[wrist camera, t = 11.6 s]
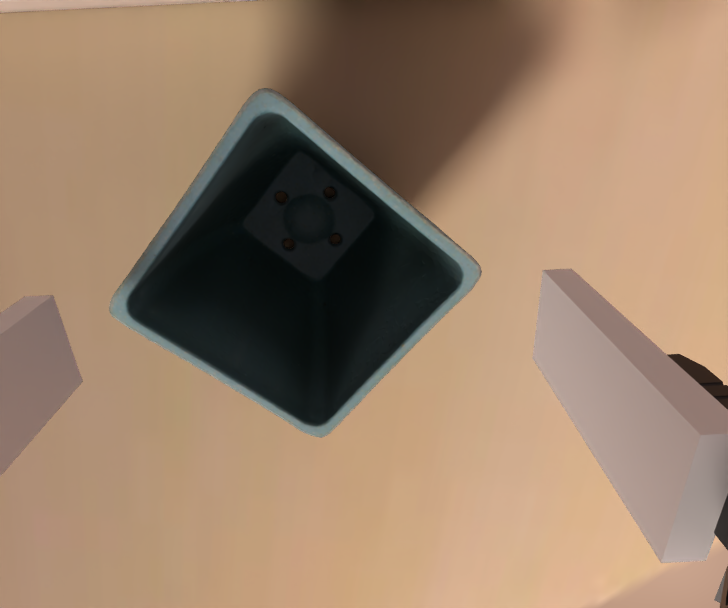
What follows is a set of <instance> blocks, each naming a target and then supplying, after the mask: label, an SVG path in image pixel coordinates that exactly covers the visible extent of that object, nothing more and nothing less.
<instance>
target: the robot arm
mask: <svg viewBox="0 0 728 608" xmlns="http://www.w3.org/2000/svg"><path fill="white" fill-rule="evenodd" d="M533 360H534V361H535V363H536V365H537V366H538V368H539V369H540V371H541V372H542V374H543V376H544V377H545V379H546V380H547V382H548V384H549V385H550V387H551V388H552V390H553V392H554V393H555V395H556V396H557V398H558V400H559V401H560V403H561V404H562V406H563V407H564V409H565V411H566V412H567V414H568V415H569V417H570V419H571V420H572V422H573V423H574V425H575V427H576V428H577V430H578V431H579V433H580V435H581V436H582V438H583V439H584V441H585V443H586V444H587V446H588V447H589V449H590V450H591V452H592V454H593V455H594V457H595V458H596V460H597V462H598V463H599V465H600V466H601V468H602V470H603V471H604V473H605V474H606V476H607V478H608V479H609V481H610V482H611V484H612V485H613V487H614V489H615V490H616V492H617V493H618V495H619V497H620V498H621V500H622V501H623V503H624V505H625V506H626V508H627V509H628V511H629V513H630V514H631V516H632V517H633V519H634V520H635V522H636V524H637V525H638V527H639V528H640V530H641V532H642V533H643V535H644V536H645V538H646V540H647V541H648V543H649V544H650V546H651V548H652V549H653V551H654V552H655V554H656V556H657V557H658V559H659V560H660V562H661V563H671V562H690V561H706V560H707V557H708V554H709V551H710V549H711V546H712V543H713V540H714V538H715V535H716V536H717V537H718V539H719V540H720V541H721V542H722V544H723V545H724V546H725V547H726V549H727V550H728V386H727V385H723V382H722V381H721V380H720V379H719V378H718V377H716V376H715V375H714V374H713V373H712V372H710V371H709V370H708V369H707V368H706V367H704V366H702V365H700V364H698V363H696V362H694V361H692V360H690V359H688V358H686V357H684V356H682V355H680V354H671V355H666V354H665V353H664V352H663V351H662V350H661V349H660V348H659V347H658V346H657V345H655V344H654V343H653V342H652V341H651V340H650V339H649V338H648V337H647V336H645V335H644V334H643V333H642V332H641V331H640V330H639V329H638V328H637V327H635V326H634V325H633V324H632V323H631V322H630V321H629V320H628V319H627V318H626V317H624V316H623V315H622V314H621V313H620V312H619V311H618V310H617V309H616V308H614V307H613V306H612V305H611V304H610V303H609V302H608V301H607V300H606V299H604V298H603V297H602V296H601V295H600V294H599V293H598V292H597V291H596V290H594V289H593V288H592V287H591V286H590V285H589V284H588V283H587V282H586V281H585V280H583V279H582V278H581V277H580V276H579V275H578V274H577V273H576V272H575V271H573V270H572V269H555V270H543V273H542V282H541V290H540V299H539V308H538V316H537V325H536V333H535V342H534V351H533ZM82 382H83V381H82V378H81V375H80V372H79V369H78V366H77V363H76V360H75V358H74V355H73V352H72V349H71V346H70V343H69V340H68V337H67V334H66V331H65V329H64V326H63V323H62V320H61V317H60V314H59V311H58V308H57V305H56V302H55V300H54V297H53V295H47V296H27V297H23V298H22V299H20V300H19V301H17V302H16V303H14V304H13V305H12V306H10V307H9V308H7V309H6V310H4V311H3V312H1V313H0V476H1V475H2V474H3V473H4V472H5V471H6V469H7V468H8V467H9V466H10V465H11V464H12V463H13V461H14V460H15V459H16V458H17V457H18V456H19V454H20V453H21V452H22V451H23V450H24V449H25V448H26V446H27V445H28V444H29V443H30V442H31V441H32V439H33V438H34V437H35V436H36V435H37V434H38V432H39V431H40V430H41V429H42V428H43V427H44V426H45V424H46V423H47V422H48V421H49V420H50V419H51V417H52V416H53V415H54V414H55V413H56V412H57V411H58V409H59V408H60V407H61V406H62V405H63V404H64V402H65V401H66V400H67V399H68V398H69V397H70V395H71V394H72V393H73V392H74V391H75V390H76V389H77V387H78V386H79V385H80V384H81V383H82ZM715 601H717V602H719V603H720V608H728V567H727V569H726V572H725V574H724V577H723V579H722V582H721V584H720V587H719V589H718V592H717V594H716V597H715Z"/></svg>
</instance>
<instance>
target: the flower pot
mask: <svg viewBox="0 0 728 608" xmlns="http://www.w3.org/2000/svg"><path fill="white" fill-rule="evenodd" d="M327 187H331V188H333V189H334V191H335V195H334V196H333V197H332V198H327V197H326V196H325V194H324V190H325V189H326V188H327ZM278 192H284V193H285V194H286V196H287V200H286V202H284V203H279V202H278V201H277V200H276V194H277V193H278ZM334 234H337V235H339V236H340V238H341V239H340V242H339V243H338V244H333V243H331V241H330V237H331V236H332V235H334ZM286 239H292V240H293V241H294V246H293V248H291V249H288V248H286V247H285V246H284V244H283V243H284V240H286ZM481 272H482V271H481V267H480V265H479V264H478V263H477V261H476V260H475V259H474V258H473V257H472V256H471V255H469V254H468V253H467V252H466V251H465V250H463V249H462V248H461V247H460V246H459V245H458V244H456V243H455V242H454V241H453V240H452V239H451V238H449V237H448V236H447V235H446V234H445V233H444V232H443V231H442V230H440V229H439V228H438V227H437V226H436V225H435V224H434V223H432V222H431V221H430V220H429V219H428V218H426V217H425V216H424V215H423V214H421V213H420V212H419V211H418V210H417V209H415V208H414V207H413V206H412V205H411V204H409V203H408V202H407V201H406V200H405V199H403V198H402V197H401V196H400V195H399V194H397V193H396V192H395V191H394V190H393V189H392V188H390V187H389V186H388V185H387V184H386V183H385V182H383V181H382V180H381V179H380V178H379V177H378V176H376V175H375V174H374V173H373V172H372V171H370V170H369V169H368V168H367V167H366V166H365V165H363V164H362V163H361V162H360V161H359V160H358V159H356V158H355V157H354V156H353V155H352V154H351V153H349V152H348V151H347V150H346V149H345V148H344V147H342V146H341V145H340V144H339V143H338V142H337V141H336V140H334V139H333V138H332V137H331V136H330V135H329V134H327V133H326V132H325V131H324V130H323V129H322V128H320V127H319V126H318V125H317V124H316V123H315V122H314V121H312V120H311V119H310V118H309V117H308V116H307V115H305V114H304V113H303V112H302V111H301V110H300V109H299V108H297V107H296V106H295V105H294V104H293V103H291V102H290V101H289V100H288V99H286V98H285V97H283V96H282V95H281V94H279V93H278V92H276V91H274V90H272V89H268V88H264V89H259V90H258V91H256V92H255V93H253V94H252V95H251V96H250V97H249V98H248V100H247V101H246V102H245V104H244V105H243V106H242V108H241V109H240V111H239V112H238V114H237V116H236V117H235V119H234V121H233V122H232V123H231V125H230V126H229V128H228V129H227V131H226V133H225V134H224V136H223V137H222V139H221V141H220V142H219V143H218V145H217V146H216V147H215V149H214V151H213V152H212V154H211V155H210V157H209V158H208V160H207V162H206V163H205V164H204V165H203V167H202V169H201V170H200V172H199V173H198V175H197V176H196V178H195V179H194V181H193V183H192V184H191V185H190V186H189V188H188V190H187V191H186V192H185V194H184V196H183V197H182V199H181V200H180V201H179V203H178V204H177V206H176V207H175V209H174V210H173V212H172V213H171V214H170V216H169V217H168V219H167V220H166V222H165V223H164V224H163V225H162V227H161V228H160V230H159V231H158V233H157V234H156V236H155V237H154V238H153V240H152V241H151V242H150V244H149V246H148V247H147V248H146V250H145V251H144V253H143V254H142V256H141V257H140V258H139V260H138V261H137V263H136V264H135V265H134V267H133V268H132V270H131V271H130V273H129V274H128V276H127V277H126V278H125V279H124V281H123V283H122V284H121V285H120V286H119V288H118V289H117V291H116V292H115V293H114V295H113V297H112V299H111V301H110V306H109V311H110V314H111V315H112V317H114V318H115V319H116V320H118V321H119V322H121V323H122V324H124V325H125V326H127V327H128V328H129V329H131V330H133V331H135V332H137V333H139V334H140V335H142V336H144V337H145V338H146V339H148V340H149V341H152V342H154V343H155V344H157V345H159V346H160V347H162V348H163V349H165V350H167V351H169V352H171V353H172V354H175V355H177V356H178V357H180V358H181V359H183V360H185V361H187V362H189V363H191V364H192V365H193V366H195V367H197V368H199V369H200V370H202V371H204V372H206V373H208V374H209V375H210V376H213V377H214V378H215V379H217V380H219V381H221V382H222V383H224V384H225V385H227V386H229V387H231V388H232V389H234V390H235V391H237V392H239V393H240V394H242V395H244V396H246V397H247V398H249V399H251V400H252V401H254V402H256V403H257V404H259V405H261V406H262V407H264V408H265V409H267V410H269V411H270V412H272V413H274V414H275V415H277V416H278V417H280V418H282V419H283V420H285V421H286V422H288V423H289V424H291V425H293V426H294V427H295V428H297V429H298V430H300V431H302V432H304V433H306V434H309V435H311V436H315V437H320V438H322V437H325V436H327V435H328V434H330V433H331V432H332V431H333V430H334V429H335V428H336V427H337V426H338V425H339V424H340V423H341V422H342V421H343V419H344V418H345V417H346V416H347V415H348V414H349V413H350V412H351V411H352V410H353V409H354V408H355V407H356V406H357V405H358V404H359V403H360V402H361V401H362V400H363V399H364V398H365V396H366V395H367V394H368V393H369V392H370V391H371V390H372V389H373V388H374V387H375V386H376V385H377V384H378V383H379V382H380V380H381V379H383V378H384V376H385V375H386V374H388V373H389V371H390V370H391V369H392V368H394V367H395V366H396V364H397V363H398V362H399V361H400V360H401V359H402V358H403V357H404V356H405V355H406V354H407V353H408V352H409V351H410V350H411V349H412V348H413V347H414V346H415V344H416V343H418V342H419V341H420V340H421V339H422V337H424V336H425V334H427V333H428V332H429V331H430V330H431V329H432V328H433V327H434V326H435V325H436V324H437V323H438V322H439V321H440V320H441V319H442V318H443V317H444V316H445V315H446V314H447V313H448V312H449V311H450V310H451V309H452V308H453V307H454V306H455V305H456V304H458V303H459V302H460V301H461V300H462V299H463V298H464V297H465V296H466V295H467V294H468V293H469V292H470V291H471V290H472V288H473V287H474V286H475V284H476V283H477V281H478V280H479V278H480V276H481Z"/></svg>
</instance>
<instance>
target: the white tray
mask: <svg viewBox="0 0 728 608" xmlns="http://www.w3.org/2000/svg"><path fill="white" fill-rule="evenodd" d="M235 1H255V0H0V13H7V12H28V11H49V10H69V9H90V8H111V7H131V6H152V5H173V4H193V3H214V2H235Z"/></svg>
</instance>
